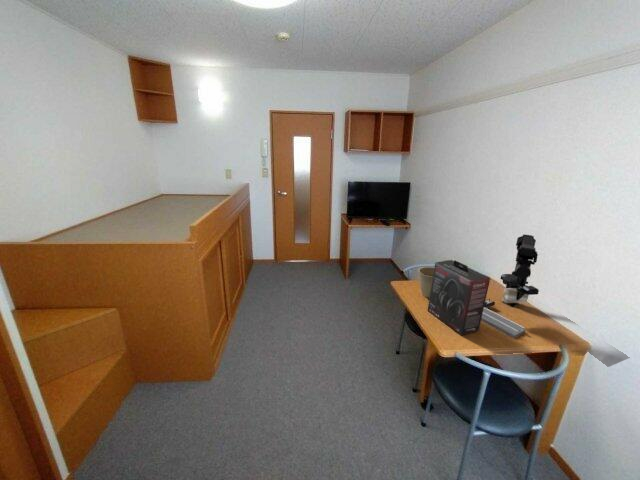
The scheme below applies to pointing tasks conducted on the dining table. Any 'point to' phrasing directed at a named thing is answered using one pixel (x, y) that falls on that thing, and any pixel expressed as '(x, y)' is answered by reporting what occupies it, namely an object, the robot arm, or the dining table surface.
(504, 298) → the door panel
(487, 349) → the dining table surface
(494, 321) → the rail
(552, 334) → the dining table surface
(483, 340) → the dining table surface
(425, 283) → the plant pot
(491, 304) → the clip-on lamp
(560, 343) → the dining table surface
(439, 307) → the headset box
